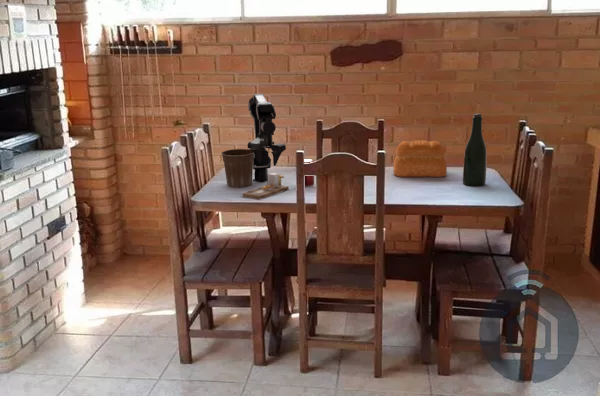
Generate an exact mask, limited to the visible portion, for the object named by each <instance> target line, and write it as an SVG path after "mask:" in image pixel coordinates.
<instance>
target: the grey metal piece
mask: <svg viewBox="0 0 600 396" xmlns="http://www.w3.org/2000/svg"><path fill="white" fill-rule="evenodd" d="M278 175H279V173H276V172H275V173H274V172H270V173H268V180H267V185H268V186H266V185H264V186H265V187H263V186H262V187H263V189H267V188H270V187H273V188H276V187H279V178H278Z"/></svg>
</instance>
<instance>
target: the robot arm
mask: <svg viewBox="0 0 600 396" xmlns="http://www.w3.org/2000/svg"><path fill="white" fill-rule="evenodd" d="M247 104H248V105H247V108H248V111H249V115H250V117H251V118H252V120H253V127H254V128H253V129H254V139H253V140H252V141H249V142H248V143H247V145H246V146H247V149H250V150H251V151H253V152H254V160H253V170H254V172H253V175H254V179H253V178H252V182H259V183H260V182H261V183H264V182H266V181H267V182H268V174H269V172H268V169H271V165H272V164H273V166H277V164H278V161H279V158H280V157H281V155H282V154H283V152H285V151H286V149H287V146H286V144H285V143H280V142H278V143H275V141H273V136H274V135H275V131H276V128H277V126H276V124H275V123H274V121H273V120H276V117H277V114H276V107H275V106H274V105H273V103H271V102H270V101H267V98H265V94H263V93H255V94H253V95H252V97H251V98H250V99H248V103H247ZM267 149H270V150H271V151H270V153H271V154H272V158H271V157H270V155H269V151H268V150H267ZM272 161H273V162H272Z"/></svg>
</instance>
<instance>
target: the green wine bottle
mask: <svg viewBox="0 0 600 396" xmlns="http://www.w3.org/2000/svg"><path fill="white" fill-rule="evenodd" d="M471 120H472V123H471V132H470V135H469V139H468V141H467V143H466V146H465V149H464V155H463V168H462V169H463V170H462V184H463V185H465V186H470V187H481V186H485V185H486V182H487V163H488V162H487V159H488V157H487V155H488V153H487V151H488V150H487V145H486V141H485V140H484V136H483V116H482V113H474V114H473V116H472V119H471Z"/></svg>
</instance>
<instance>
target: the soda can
mask: <svg viewBox="0 0 600 396" xmlns="http://www.w3.org/2000/svg"><path fill="white" fill-rule="evenodd" d="M310 162H314V159H310V158H304V163H310ZM314 163H315V162H314ZM314 185H315V175H314V176H305V188H307V187H313V186H314Z"/></svg>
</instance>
